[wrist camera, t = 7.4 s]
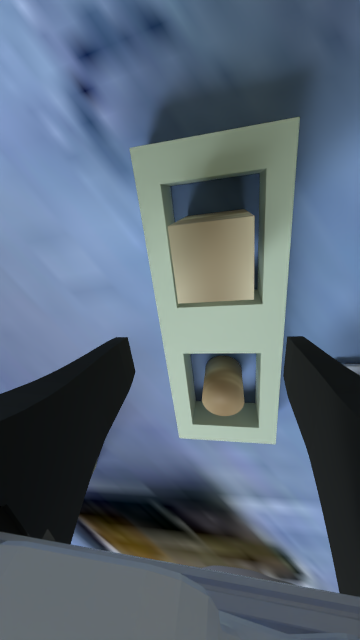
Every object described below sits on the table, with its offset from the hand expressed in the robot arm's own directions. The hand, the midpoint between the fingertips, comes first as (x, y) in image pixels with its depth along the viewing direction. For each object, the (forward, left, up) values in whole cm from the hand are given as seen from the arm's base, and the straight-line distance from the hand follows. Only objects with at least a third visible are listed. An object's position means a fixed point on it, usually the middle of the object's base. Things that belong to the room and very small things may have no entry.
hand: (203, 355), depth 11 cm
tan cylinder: (0, +8, -10) cm, 13 cm away
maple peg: (0, -4, -10) cm, 11 cm away
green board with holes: (0, +2, -10) cm, 10 cm away
